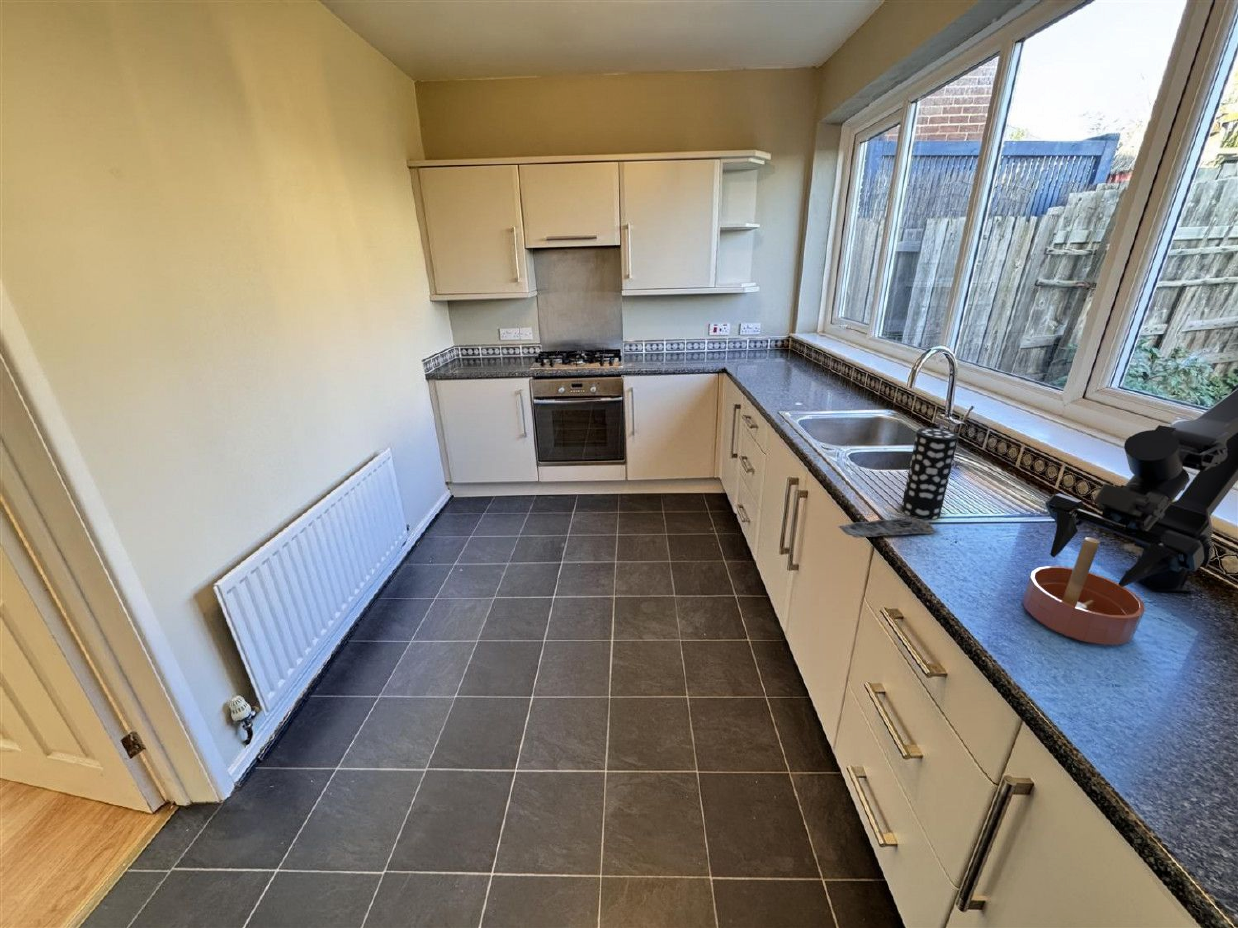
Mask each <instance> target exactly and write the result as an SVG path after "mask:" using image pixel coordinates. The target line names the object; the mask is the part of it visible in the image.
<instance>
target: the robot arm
mask: <svg viewBox="0 0 1238 928" xmlns="http://www.w3.org/2000/svg"><path fill="white" fill-rule="evenodd" d="M1123 449H1124V452H1125V456H1126V459H1127V464H1128V467H1129V470H1130V472H1131V473H1132V475H1133V476H1132V477H1131V478H1130V479H1128V481H1127V482H1126V484H1125V485H1124V484H1121V485H1120V486H1115V485H1111V484H1109V483H1103V485H1102V486H1101V487H1100V490H1099V491H1098V492H1097V495H1096V496H1095V498H1094V500H1093V503H1096V504H1098V505H1097V510H1098V511H1099V512H1102V513H1101V514H1098V513H1095V512H1092V511H1091V510H1090V511H1089V510H1087V509H1086V508H1085V505H1084V502H1083V500H1080V499H1077V498H1075V497H1072V496H1069V495H1066V494H1062V493H1056V494H1052V495H1051V496H1050V497H1049V498H1048V499H1047V500H1046V502H1045V503H1044V504H1045V507H1046V509H1047V511H1048V513H1049V515H1050V518H1051V519H1052V520H1054V522H1055V524H1056V528H1055V529H1056V530H1055V534H1054V538H1053V542H1052V545H1051V548H1050V552H1049V553H1050V554H1049V555H1050V557H1052V558H1056V557H1057V556H1058V555H1059V554H1060V553H1062V551H1063V550H1064V549H1065V548H1066V547H1067V545H1068V544H1069V543H1070V542H1071V540H1072V539H1073V538H1074V537H1075V536H1076V534H1077V533H1078V532H1079V529H1078V527H1080V526H1082V525H1083V523H1085V524H1088V525H1090V526H1093V527H1095V528H1096V527H1097V528H1099V529H1102V530H1105V531H1107V532H1109V533H1113V534H1116V535H1118V536H1120V537H1121V536H1122V537H1124V538H1127V539H1130V540H1132V541H1134V544H1133V545H1134V547H1137V548H1141V549H1143V550H1142V553H1141V555H1140V556H1138V558H1137V560H1136V563H1135V564H1134V565H1133V566H1132V567H1130V568H1129V569H1125V574H1124V575H1123V576H1122V577H1121V579H1120V580H1119V581H1118V584H1119V586H1121V587H1126V586H1129V585H1131V584H1133V583H1136V582H1139V583H1141V584H1142V585H1144V586H1145V587H1147V588H1148V589H1150V590H1151V591H1153V592H1157V593H1158V592H1160V593H1161V592H1163V593H1192V592H1193V589H1192V588H1191V587H1188V586H1187V585H1186V582H1187V580H1188V578H1189V575H1190V573H1191V572H1197V570H1198V569H1199V568H1207V567H1208V565H1210V564H1209V563H1210V561H1211V560H1212V556H1213V554H1214V547H1213V540H1212V535H1213V533H1214V530H1213V524H1212V519H1211V517H1212V515H1213V513H1214V512H1215V510H1216V509H1217V508H1218V506H1219V505H1220V504H1221V503H1222V501H1223V500H1224V499H1225V497H1226V496H1227V495H1228V493H1229V492H1230V491H1231V490H1232V488H1233V487H1234V486H1235V484H1236V483H1237V481H1238V383H1236V384H1235V385H1234V386H1233V388H1232V389H1231V391H1230V392H1229V394H1228V395H1226V396H1225V397H1223V398H1222V399H1221V400H1219V401H1218V402H1217V403H1216V404H1214V405H1213V406H1211V407H1210V408H1209V409H1208V410H1206V411H1205V412H1203V413H1202V414H1200V415H1199V416H1198V417H1197V418H1195V419H1190V420H1189V419H1188V420H1182V421H1176V422H1174V423H1172V424H1170V425H1163V424H1158V425H1157V427H1156V428H1155V429H1148V430H1143V431H1139V432H1137V433H1134V434H1133V435H1131V436H1128V437H1127V439H1126V440H1125V442H1124V444H1123ZM1185 468H1187V469H1191V470H1194V471H1198V472H1197V474H1196V475H1195V476H1194V478H1193V479H1192V480H1191V478H1190V475H1189V473H1188V471H1187V470H1186V469H1185ZM1190 481H1191V482H1190ZM1189 482H1190V483H1189ZM1187 485H1188V486H1187ZM1181 492H1183V493H1182V494H1181V495H1180V496H1179V494H1180V493H1181ZM1178 496H1179V497H1178ZM1177 497H1178V499H1177V500H1175V499H1176V498H1177Z"/></svg>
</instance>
